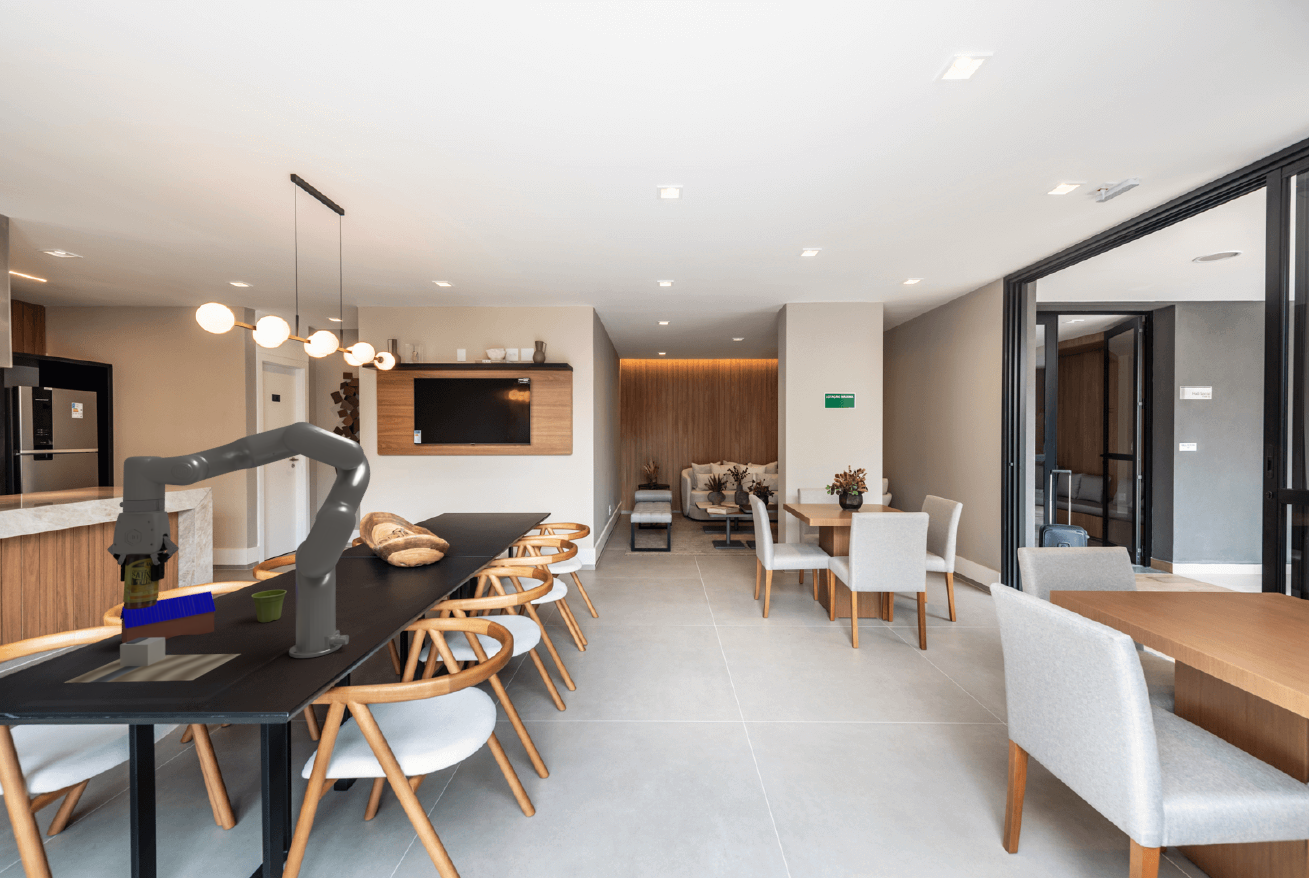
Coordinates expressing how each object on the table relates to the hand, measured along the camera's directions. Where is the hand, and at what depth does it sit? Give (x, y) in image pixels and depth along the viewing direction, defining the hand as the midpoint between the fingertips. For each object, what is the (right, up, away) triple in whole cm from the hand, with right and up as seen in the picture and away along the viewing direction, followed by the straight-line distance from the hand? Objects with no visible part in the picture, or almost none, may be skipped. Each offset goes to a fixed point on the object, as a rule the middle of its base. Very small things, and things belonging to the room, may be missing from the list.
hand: (142, 579), depth 131 cm
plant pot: (-2, -25, +46) cm, 52 cm away
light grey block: (-8, -24, +9) cm, 27 cm away
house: (-22, -26, +31) cm, 46 cm away
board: (-2, -25, +6) cm, 26 cm away
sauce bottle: (0, -7, 0) cm, 7 cm away
